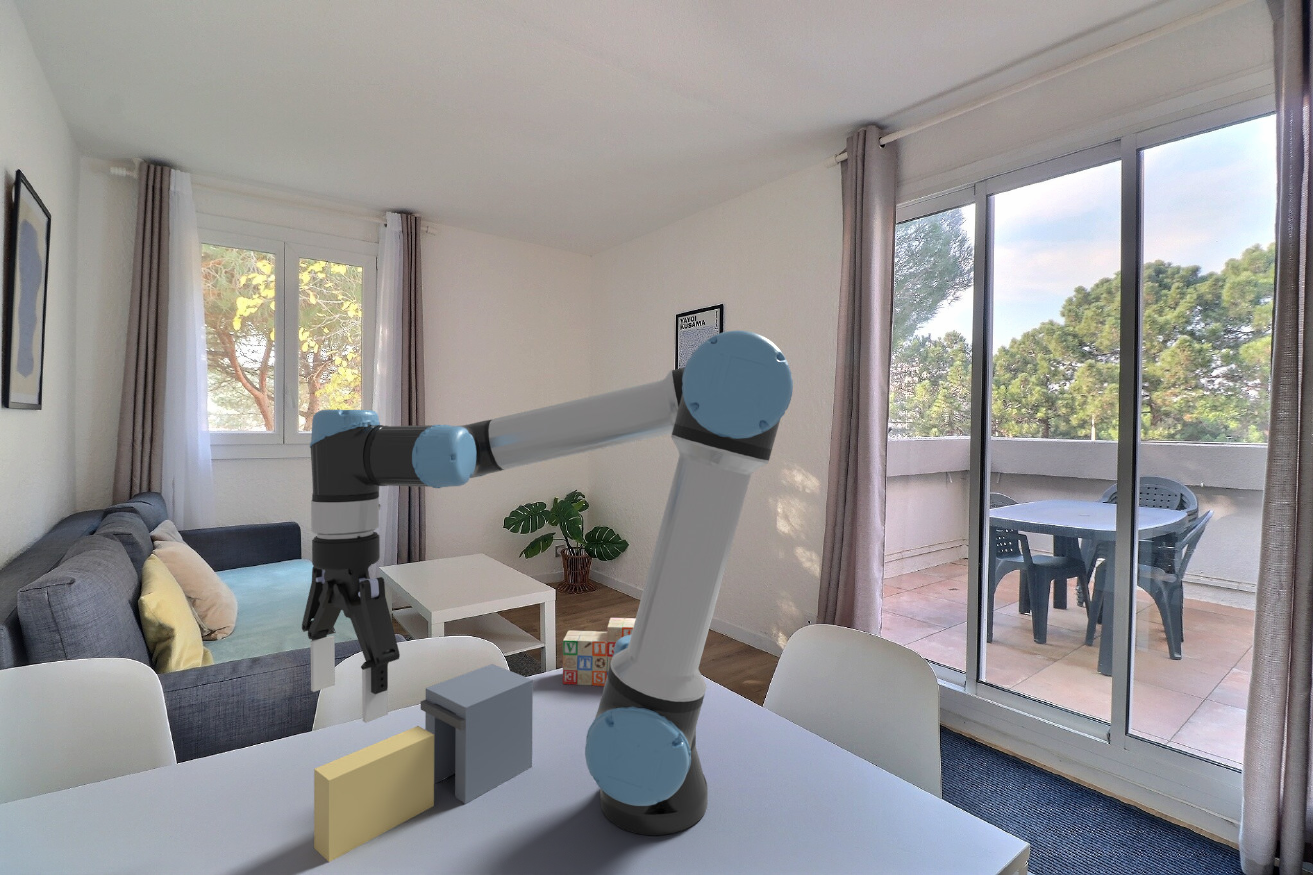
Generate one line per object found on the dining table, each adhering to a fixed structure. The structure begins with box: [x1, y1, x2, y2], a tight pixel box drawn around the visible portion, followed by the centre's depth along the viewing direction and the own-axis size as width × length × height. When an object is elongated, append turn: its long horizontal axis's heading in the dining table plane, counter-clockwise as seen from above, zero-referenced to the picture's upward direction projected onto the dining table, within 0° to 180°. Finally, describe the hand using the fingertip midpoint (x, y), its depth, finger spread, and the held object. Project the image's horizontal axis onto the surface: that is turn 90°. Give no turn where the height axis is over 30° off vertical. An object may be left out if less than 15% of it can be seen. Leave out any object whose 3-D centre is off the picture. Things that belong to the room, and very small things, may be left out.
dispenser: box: [420, 663, 534, 805], centre depth 92 cm, size 10×13×14 cm
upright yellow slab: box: [313, 725, 435, 863], centre depth 80 cm, size 4×14×10 cm, turn 142°
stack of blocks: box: [562, 617, 636, 687], centre depth 127 cm, size 21×6×12 cm, turn 87°
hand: (347, 702), depth 77 cm, fingers open, 13 cm apart
